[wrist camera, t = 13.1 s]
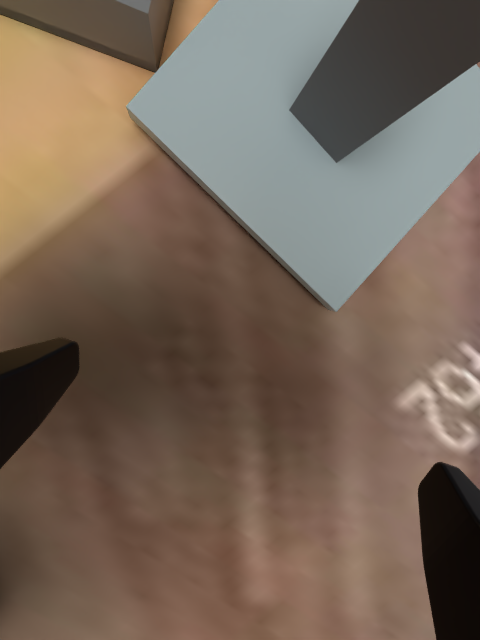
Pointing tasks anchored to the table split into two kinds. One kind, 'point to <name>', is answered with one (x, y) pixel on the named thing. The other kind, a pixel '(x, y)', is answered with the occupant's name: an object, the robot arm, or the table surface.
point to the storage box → (101, 25)
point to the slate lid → (322, 123)
